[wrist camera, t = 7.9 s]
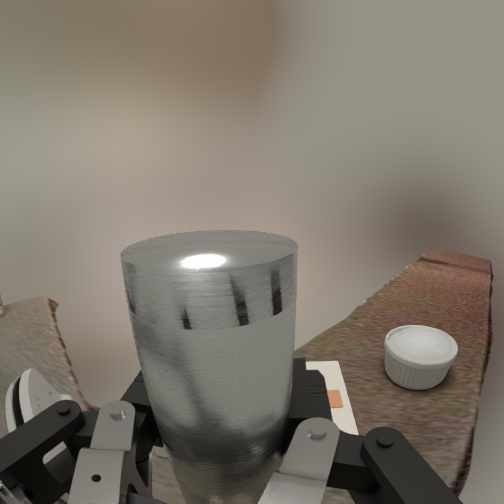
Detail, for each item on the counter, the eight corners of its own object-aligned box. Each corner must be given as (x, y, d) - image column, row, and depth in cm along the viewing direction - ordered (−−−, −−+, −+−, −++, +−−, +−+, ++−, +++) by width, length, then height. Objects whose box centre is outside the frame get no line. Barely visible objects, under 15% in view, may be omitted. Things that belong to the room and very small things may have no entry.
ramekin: (400, 345, 43) (406, 317, 42) (457, 367, 34) (467, 337, 33) (363, 375, 37) (370, 344, 36) (430, 406, 28) (442, 373, 27)
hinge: (122, 497, 18) (45, 445, 13) (88, 516, 15) (8, 468, 11) (77, 401, 30) (30, 346, 26) (53, 418, 28) (4, 365, 23)
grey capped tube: (185, 538, 9) (84, 267, 6) (202, 478, 13) (160, 231, 10) (276, 548, 8) (304, 271, 5) (280, 484, 13) (293, 230, 9)
